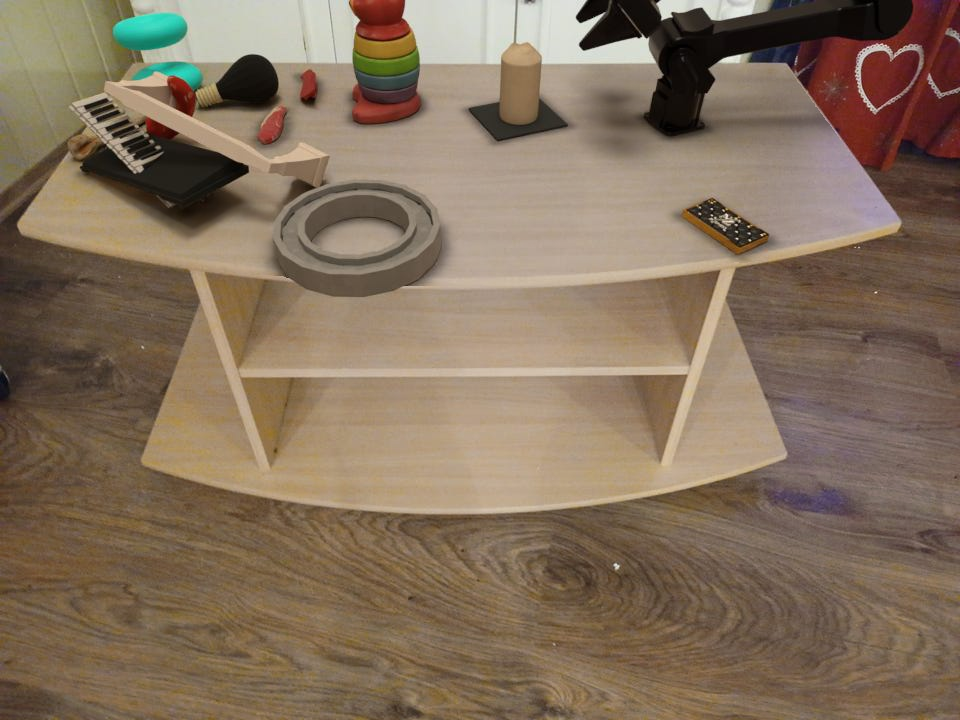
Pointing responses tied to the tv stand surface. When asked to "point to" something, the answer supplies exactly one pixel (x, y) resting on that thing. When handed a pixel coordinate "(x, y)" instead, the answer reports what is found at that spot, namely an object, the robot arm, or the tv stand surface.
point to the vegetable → (184, 105)
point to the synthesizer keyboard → (153, 158)
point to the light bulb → (243, 83)
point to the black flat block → (725, 225)
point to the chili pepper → (309, 85)
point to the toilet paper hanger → (214, 130)
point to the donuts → (157, 44)
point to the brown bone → (94, 140)
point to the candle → (520, 84)
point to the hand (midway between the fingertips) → (579, 33)
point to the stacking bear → (384, 62)
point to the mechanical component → (357, 270)
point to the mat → (504, 130)
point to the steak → (272, 125)
